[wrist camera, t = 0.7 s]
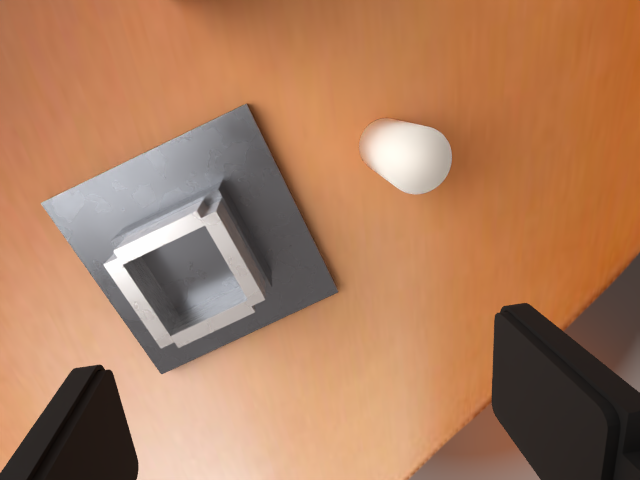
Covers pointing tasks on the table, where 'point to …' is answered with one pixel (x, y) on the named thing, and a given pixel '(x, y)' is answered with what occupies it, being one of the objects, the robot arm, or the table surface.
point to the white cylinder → (406, 154)
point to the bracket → (195, 240)
